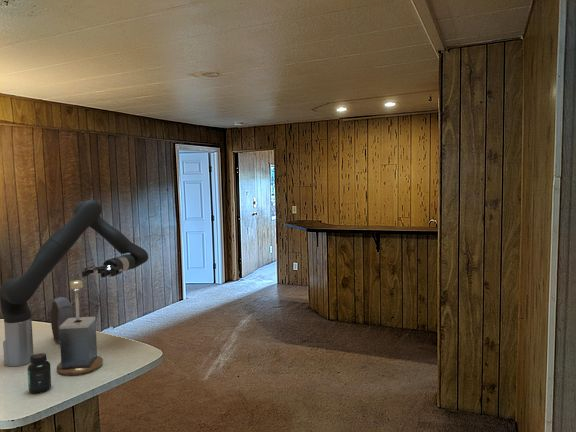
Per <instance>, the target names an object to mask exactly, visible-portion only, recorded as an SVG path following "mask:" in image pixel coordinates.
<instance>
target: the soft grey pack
mask: <svg viewBox="0 0 576 432" xmlns="http://www.w3.org/2000/svg"><path fill="white" fill-rule="evenodd" d="M68 318H76V314H75V311H74V308H73V305H72V303H71V302H70V300H68V298H67V297H66V296H65V297H63V296H58V297H57V298H56V299H55V298H54V299H52V301H51V305H50V325H51V332H52V336H53V340H54V341H55V342H57V343H60V330H59V326H60V325H61V324H63V323H64V322H65V321H66V320H67V319H68Z"/></svg>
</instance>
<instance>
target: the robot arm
mask: <svg viewBox="0 0 576 432" xmlns="http://www.w3.org/2000/svg"><path fill="white" fill-rule="evenodd" d="M102 210H103V209H102V206H101V203H99V202H98V201H97V200H94V199H88V200H87V199H86V200H83V201H79V202H78V203H77V204H75V206H74V209H73V213H74V215H73V217H71V219H70V220H69V221H68V222H67V223H65V224H63V226H62V227H60V228H58V230H56V231H54V233H53V234H51V235H50V236H49V237H48V238H47V239H46V241H44V243H43V244H42V245H41V246H40V247H39V248H38V250H37V252H36V254H35V257H34V258H33V261H32V263H31V264H30V266H29V268H28V269H27V270H26V271H25V272H24V273H23V274H22V275H21V276H20V277H19V278H16V277H14V278H9V279H7V280H5V281H4V282H3V283H2V284H1V286H0V309H1V314H2V317H3V324H4V327H3V329H4V339H5V340H3V341H2V347H3V348H2V349H3V361H4V362H3V365H4V366H8V367H20V366H24V365H27V364H31V363H30V357H31V356H32V355H35V353H34V340H33V339H34V338H33V323H32V319H33V318H32V312H31V309H30V307H29V305H28V301H29V300H30V299H31V298H32V297H33V296H34V294H35V292H36V291H37V289H39V287H40V286H41V284H42V283H43V281H44V280H45V278H46V277H48V275H49V274H50V273H51V271H52V270H53V269H54V268H55V267H56V266H57V265H58V263H59V262H61V260H63V258H64V257H65V256H66V255H67V254H68V252H69V251H70V249H72V248H73V246H74V245H75V243H77V241H78V240H79V239H80V237H81V236H82V235H83V234H84V232H85V231H86V230H87V229H88V228H91V229H92V230H94V231H95V232H96V233H97V234H98V235H99V236H101V237H102V238H103V239H104V240H106V242H108V243H109V244H110V245H111V246H112V247H113V248H114V249H115V250H116V251H117V252H118V253H119V254H120V256H115V257H112V258H109V259H107V260H104V262H103V263H102V264H99V265H91V266H87V267H84V270H83V271H81V276H82V277H84V278H85V277H89V276H91V275H93V276H98V275H99V276H100V278H106V277H110V278H111V277H112V278H113V277H115V276H118V275H120V274H123V273H125V272H126V271H129V270H134V269H136V268H138V267H139V266H142V265H143V264H144V263H146V262H147V261H148V260H149V254H148V252H147V250H145V249H144V248H143V247H141V246H140V245H138V244H135V243H134V242H133V241H131V240H130V239H128V238H127V237H126V236H125V234H123V232H122V231H120V230H118V229H117V228H115V227H114V226H113V225H111V224H109V223H108V222H107V221H106V220H104V218H102V216H101V215H102Z"/></svg>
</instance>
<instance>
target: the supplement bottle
mask: <svg viewBox="0 0 576 432" xmlns="http://www.w3.org/2000/svg"><path fill="white" fill-rule="evenodd" d="M51 370H52V369H51V362H49V361H48V360H47V354H46V353H44V352H41V353H40V352H39V353H36V354H35V353H34V355H32V356H31V357H30V363H29V365H28V366H27V384H28V385H27V386H28V392H29V393H30V394H32V395H33V394H34V395H37V394H43V393H45V392H47V391H49V390H50V389H51V388H52V376H51V375H52V371H51Z"/></svg>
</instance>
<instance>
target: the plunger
mask: <svg viewBox="0 0 576 432" xmlns="http://www.w3.org/2000/svg"><path fill="white" fill-rule="evenodd" d="M83 283H84V282H83V280H81V279H77V280H70V281H69V291H74V301H75V304H74V305H75V318H76V322H80V302H79V301H80V300H79V298H80V297H79V296H80V295H79V291H81V290H83V289H84V288H83V287H84V285H83Z"/></svg>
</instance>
